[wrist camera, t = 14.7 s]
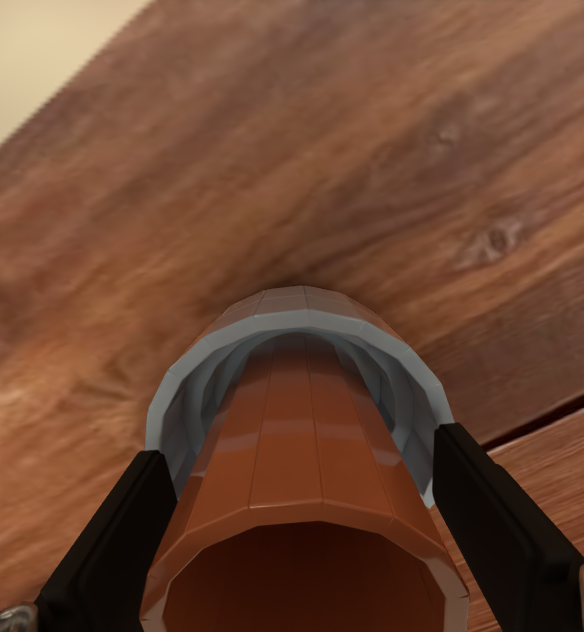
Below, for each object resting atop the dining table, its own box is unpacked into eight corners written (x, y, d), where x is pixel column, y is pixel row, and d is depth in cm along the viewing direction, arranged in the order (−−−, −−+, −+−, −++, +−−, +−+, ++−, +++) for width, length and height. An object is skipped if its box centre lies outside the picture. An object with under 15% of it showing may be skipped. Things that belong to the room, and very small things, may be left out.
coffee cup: (220, 340, 14) (97, 519, 5) (360, 325, 13) (482, 487, 5) (242, 454, 16) (180, 729, 7) (366, 443, 15) (460, 712, 7)
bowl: (170, 297, 14) (105, 330, 9) (402, 271, 13) (463, 292, 9) (213, 479, 17) (182, 577, 12) (402, 463, 16) (448, 557, 12)
